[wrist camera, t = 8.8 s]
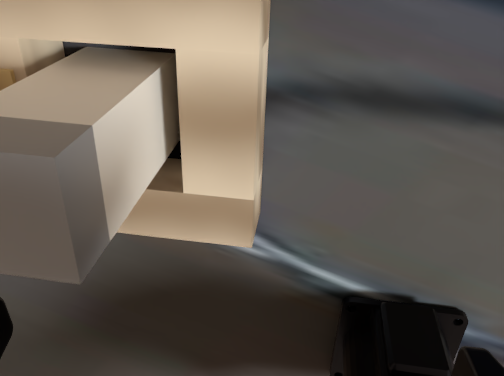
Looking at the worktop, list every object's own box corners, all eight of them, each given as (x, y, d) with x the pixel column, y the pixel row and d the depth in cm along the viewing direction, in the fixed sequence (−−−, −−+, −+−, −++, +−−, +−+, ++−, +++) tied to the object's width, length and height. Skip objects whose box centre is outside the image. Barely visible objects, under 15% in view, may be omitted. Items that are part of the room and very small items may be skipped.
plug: (179, 139, 21) (80, 284, 13) (99, 131, 22) (-51, 266, 13) (175, 53, 19) (54, 157, 11) (86, 46, 20) (-99, 141, 11)
